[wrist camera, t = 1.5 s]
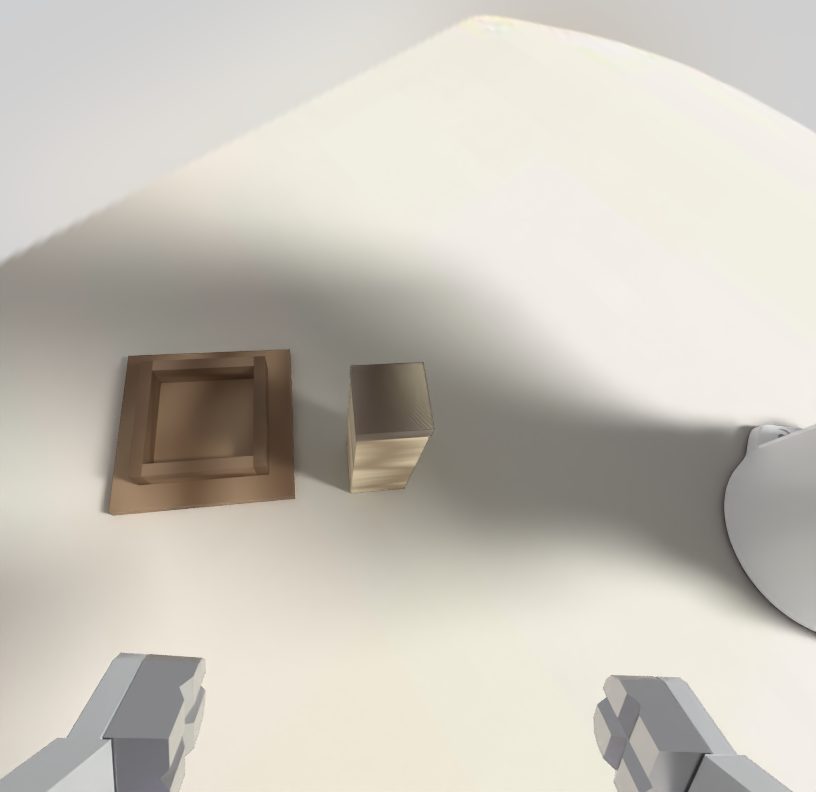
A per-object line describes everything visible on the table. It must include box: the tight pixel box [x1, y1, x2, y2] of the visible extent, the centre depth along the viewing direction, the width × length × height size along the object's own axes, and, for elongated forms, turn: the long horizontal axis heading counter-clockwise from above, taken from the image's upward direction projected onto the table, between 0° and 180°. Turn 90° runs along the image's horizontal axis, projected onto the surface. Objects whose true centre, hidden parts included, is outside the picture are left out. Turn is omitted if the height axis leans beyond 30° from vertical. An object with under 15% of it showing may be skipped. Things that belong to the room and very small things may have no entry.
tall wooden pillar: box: [347, 362, 434, 493], centre depth 32 cm, size 4×4×12 cm
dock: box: [109, 349, 295, 515], centre depth 35 cm, size 12×12×3 cm
